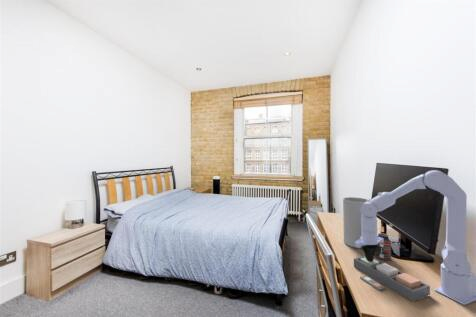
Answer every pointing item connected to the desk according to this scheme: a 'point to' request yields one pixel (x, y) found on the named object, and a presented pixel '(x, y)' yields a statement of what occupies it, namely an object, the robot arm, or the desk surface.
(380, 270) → the white key
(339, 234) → the desk surface
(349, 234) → the cylinder vase
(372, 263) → the sage key
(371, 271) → the grey divided tray
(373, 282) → the card
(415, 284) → the terracotta key
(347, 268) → the desk surface
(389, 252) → the supplement bottle
